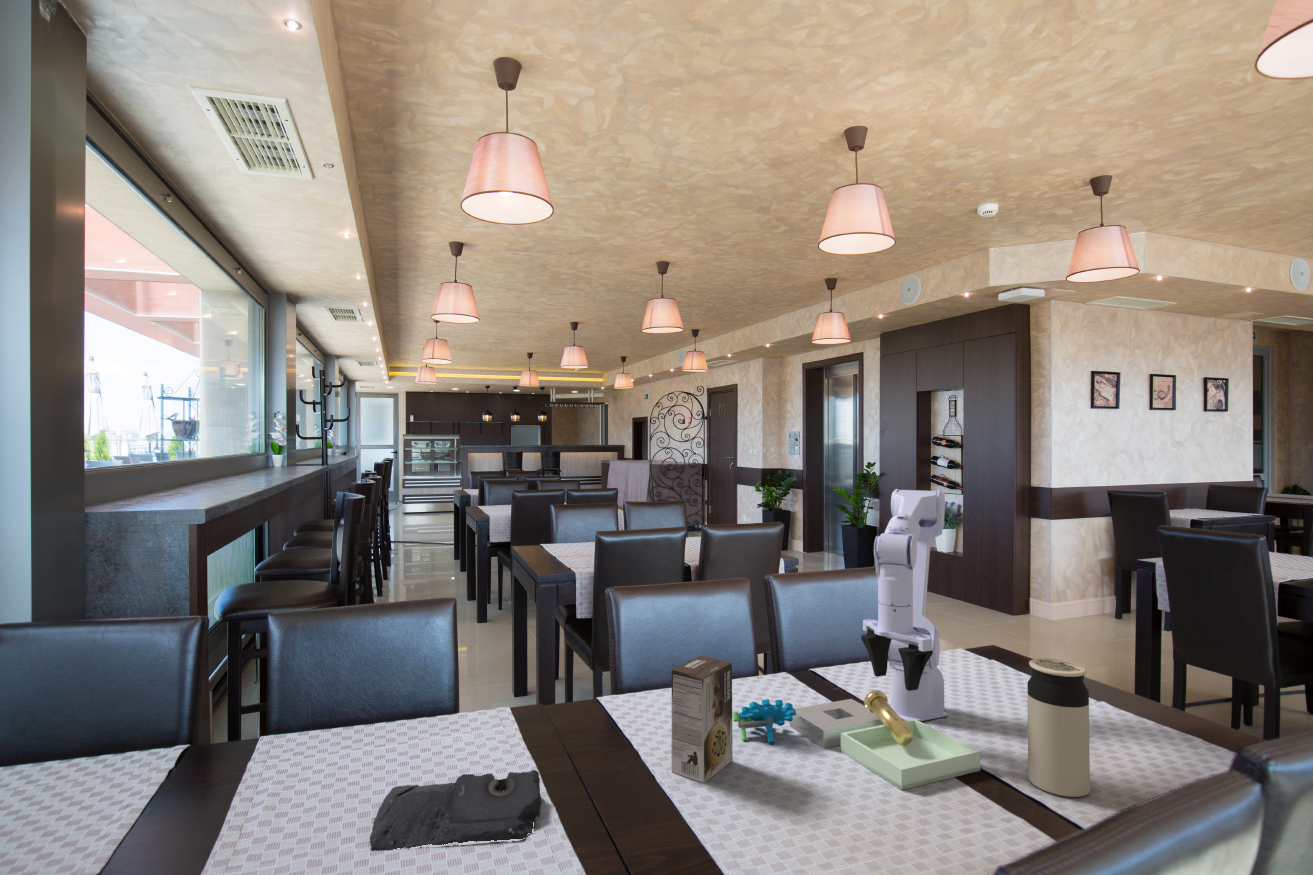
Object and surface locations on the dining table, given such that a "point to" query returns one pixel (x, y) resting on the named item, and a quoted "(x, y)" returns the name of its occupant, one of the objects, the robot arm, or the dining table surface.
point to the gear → (764, 716)
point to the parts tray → (910, 755)
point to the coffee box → (701, 717)
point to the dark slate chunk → (458, 811)
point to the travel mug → (1058, 728)
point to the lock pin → (888, 717)
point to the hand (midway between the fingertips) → (895, 682)
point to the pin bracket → (832, 721)
